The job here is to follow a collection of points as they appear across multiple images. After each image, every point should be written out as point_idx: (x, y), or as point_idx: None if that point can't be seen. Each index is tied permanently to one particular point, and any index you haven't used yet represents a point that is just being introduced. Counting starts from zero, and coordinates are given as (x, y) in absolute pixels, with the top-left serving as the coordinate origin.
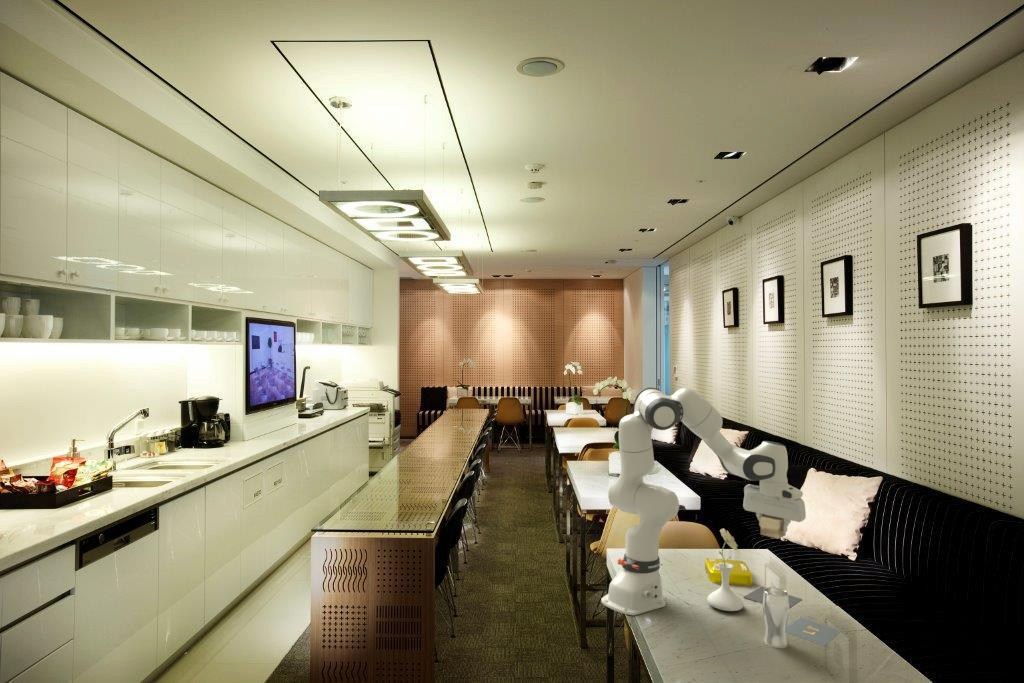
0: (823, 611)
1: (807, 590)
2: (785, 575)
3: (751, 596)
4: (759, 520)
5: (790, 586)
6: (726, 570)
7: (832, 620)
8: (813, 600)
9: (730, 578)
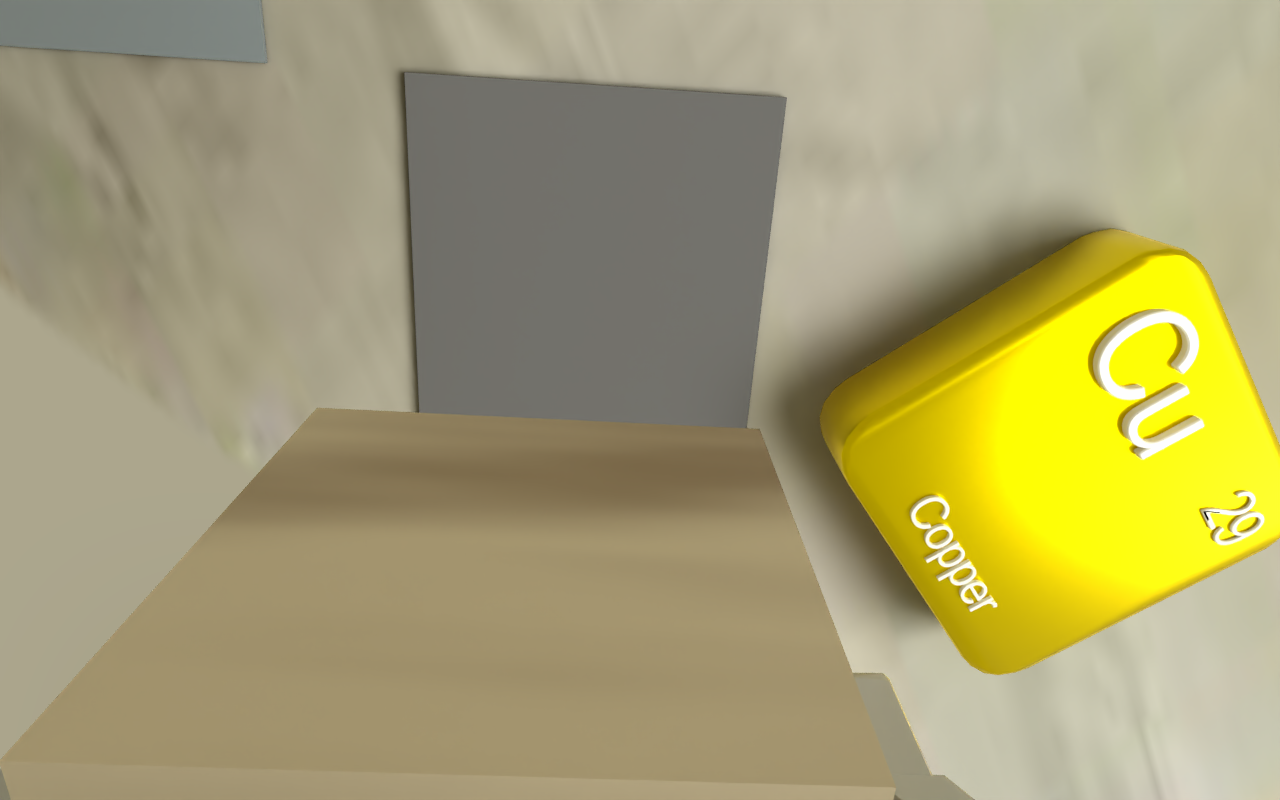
0: (217, 330)
1: None
2: None
3: (734, 163)
4: (932, 787)
5: None
6: None
7: (87, 209)
8: None
9: (989, 320)
